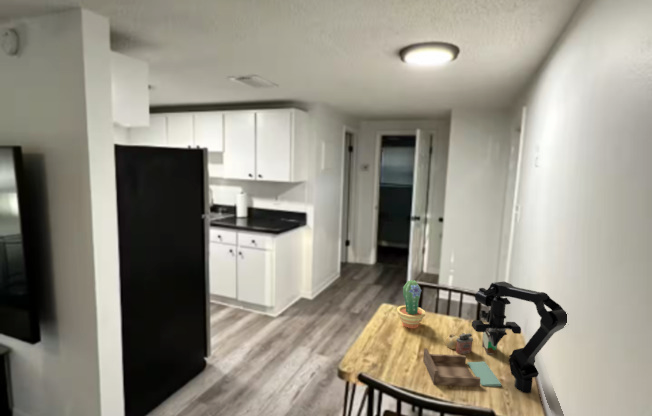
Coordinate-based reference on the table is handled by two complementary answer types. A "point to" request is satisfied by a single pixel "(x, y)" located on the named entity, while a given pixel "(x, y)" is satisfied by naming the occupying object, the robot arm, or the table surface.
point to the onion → (451, 341)
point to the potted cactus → (411, 305)
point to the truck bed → (449, 370)
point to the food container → (488, 343)
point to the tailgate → (484, 374)
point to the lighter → (464, 343)
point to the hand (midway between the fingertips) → (494, 345)
